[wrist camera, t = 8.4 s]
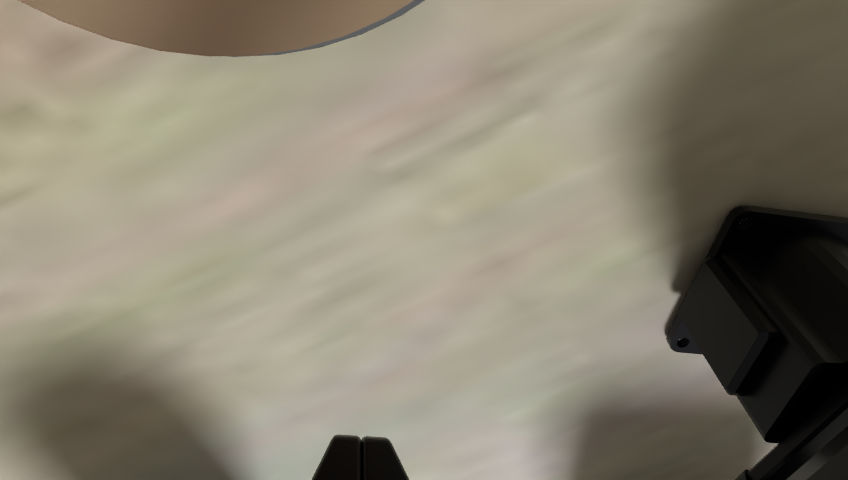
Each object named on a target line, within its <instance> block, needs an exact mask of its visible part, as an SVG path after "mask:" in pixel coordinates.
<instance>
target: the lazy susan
mask: <svg viewBox="0 0 848 480" xmlns="http://www.w3.org/2000/svg"><path fill="white" fill-rule="evenodd" d="M19 1H21V2H23V3H25V4H27V5H29V6H31V7H33V8H35V9H37V10H39V11H41V12H44V13H46V14H48V15H50V16H52V17H54V18H56V19H58V20H60V21H62V22H65V23H68V24H71V25H74V26H76V27H79V28H82V29H85V30H88V31H90V32H93V33H96V34H99V35H102V36H104V37H107V38H110V39H113V40H117V41H122V42H126V43H130V44H134V45H138V46H143V47H147V48H151V49H155V50H160V51H167V52H176V53H185V54H194V55H203V56H255V55H262V54H269V53H276V52H283V51H290V50H297V49H302V48H305V47H309V46H312V45H316V44H319V43H323V42H326V41H330V40H333V39H337V38H340V37H343V36H346V35H348V34H350V33H353V32H355V31H357V30H359V29H362V28H364V27H366V26H369V25H371V24H373V23H375V22H378V21H380V20H382V19H384V18H386V17H388V16H390V15H391V14H393V13H394V12H396V11H398V10H399V9H401V8H403V7H404V6H406V5H408V4H409V3H411V2H412V1H414V0H19Z"/></svg>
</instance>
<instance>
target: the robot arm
mask: <svg viewBox="0 0 848 480" xmlns="http://www.w3.org/2000/svg"><path fill="white" fill-rule="evenodd" d="M744 218H747V219H746V220H745V221H744V222H743V223H741V224H739V222H740V221H741V220H742V219H744ZM682 338H683V339H682ZM666 339H667V342H668V344H669V346H670V347H671V349H672V350H673V351H676V352H682V353H693V354H703V355H704V357H705V358H706V360H707V361H708V363H709V365H710V366H711V368H712V369H713V371H714V373H715V374H716V376H717V378H718V379H719V381H720V382H721V384H722V386H723V387H724V389H725V390H726V392H727V393H728V394H729V395H736V396H737V397H738V399H739V401H740V402H741V404H742V405H743V407H744V408H745V410H746V412H747V413H748V415H749V416H750V418H751V419H752V421H753V423H754V424H755V426H756V427H757V429H758V430H759V432H760V434H761V435H762V437H763V438H764V440H765V441H766V442H769V443H779V444H778V445H777V446H775V447H774V448H773V449H772V450H771V451H770V452H769V453H768V454H767V455H766V456H765V457H764V458H762V459H761V460H760V461H759V462H758V463H757V464H756V465H755V466H754V467H753V468H752V469H751V470H745V471H744V472H743V473H742V474H741V475H740V476H738V477H737V478H736V479H735V480H848V218H840V217H833V216H825V215H817V214H809V213H801V212H794V211H786V210H778V209H770V208H762V207H755V206H747V205H745V206H739V207H736V208H734V209H733V210H732V211H730V213H729V214H728V215H727V217H726V219H725V221H724V223H723V225H722V227H721V229H720V231H719V233H718V235H717V237H716V239H715V241H714V243H713V245H712V247H711V249H710V251H709V253H708V255H707V257H706V259H705V261H704V262H703V264H702V266H701V268H700V270H699V272H698V274H697V276H696V278H695V280H694V282H693V284H692V286H691V288H690V290H689V292H688V293H687V295H686V297H685V299H684V301H683V303H682V305H681V307H680V309H679V312H678V314H677V316H676V318H675V320H674V322H673V324H672V326H671V328H670V330H669V332H668V334H667V338H666ZM680 339H681V340H680ZM312 480H409V478H408V476H407V474H406V472H405V470H404V468H403V466H402V464H401V462H400V460H399V458H398V456H397V454H396V451H395V449H394V447H393V445H392V443H391V442H390V440H389V439H387V438H384V437H368V436H366V437H364V438H362V440H361V439H360V438H359V437H358V436H352V435H335V436H334V437H333V438H332V440H331V442H330V444H329V446H328V448H327V450H326V452H325V454H324V456H323V458H322V460H321V462H320V464H319V466H318V468H317V470H316V472H315V474H314V476H313V478H312Z"/></svg>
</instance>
